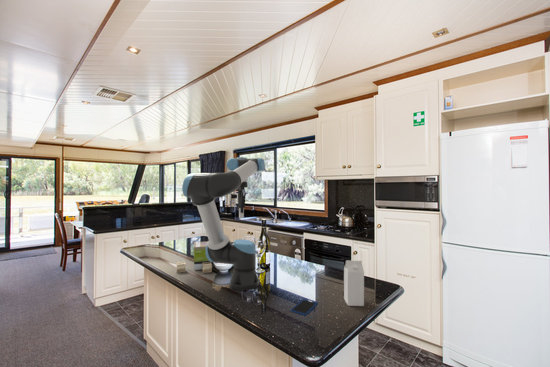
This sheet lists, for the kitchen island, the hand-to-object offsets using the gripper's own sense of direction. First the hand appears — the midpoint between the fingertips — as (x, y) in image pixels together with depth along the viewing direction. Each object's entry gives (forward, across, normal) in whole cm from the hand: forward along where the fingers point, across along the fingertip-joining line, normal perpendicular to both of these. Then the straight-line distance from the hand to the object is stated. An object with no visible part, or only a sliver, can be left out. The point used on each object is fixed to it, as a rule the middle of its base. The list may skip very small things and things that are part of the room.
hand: (241, 217), depth 165 cm
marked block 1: (+33, +8, +36) cm, 49 cm away
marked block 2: (+33, +2, +21) cm, 39 cm away
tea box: (+33, +14, +23) cm, 42 cm away
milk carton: (+33, -66, -36) cm, 82 cm away
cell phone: (+33, -62, -13) cm, 71 cm away
